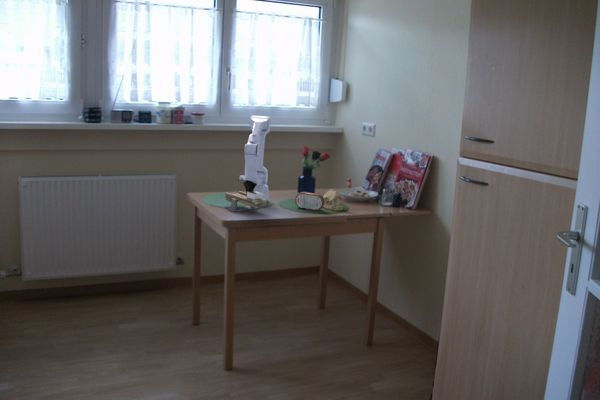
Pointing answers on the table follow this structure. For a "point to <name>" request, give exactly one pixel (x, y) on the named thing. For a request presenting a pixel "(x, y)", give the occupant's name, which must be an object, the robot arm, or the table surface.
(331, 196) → the ceramic model
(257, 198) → the block
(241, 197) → the tan wooden tray
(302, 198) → the tin
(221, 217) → the table surface
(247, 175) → the robot arm
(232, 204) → the stand
